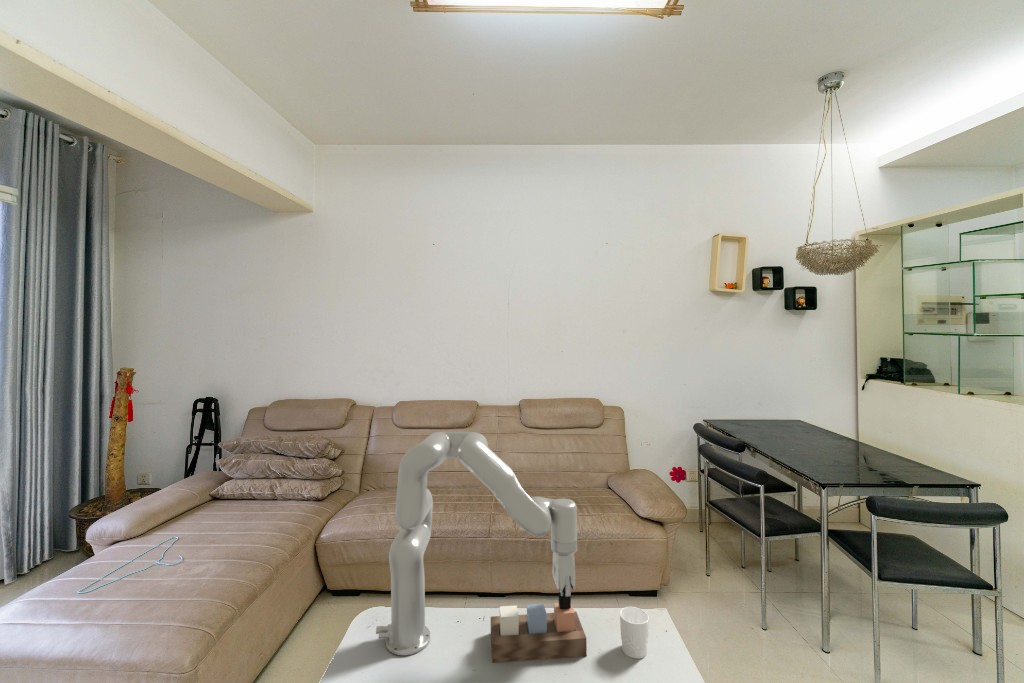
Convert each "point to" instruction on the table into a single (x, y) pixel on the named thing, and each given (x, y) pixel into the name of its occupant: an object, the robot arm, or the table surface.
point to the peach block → (564, 619)
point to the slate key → (536, 619)
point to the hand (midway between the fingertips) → (564, 607)
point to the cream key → (509, 620)
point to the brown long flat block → (537, 642)
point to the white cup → (634, 631)
